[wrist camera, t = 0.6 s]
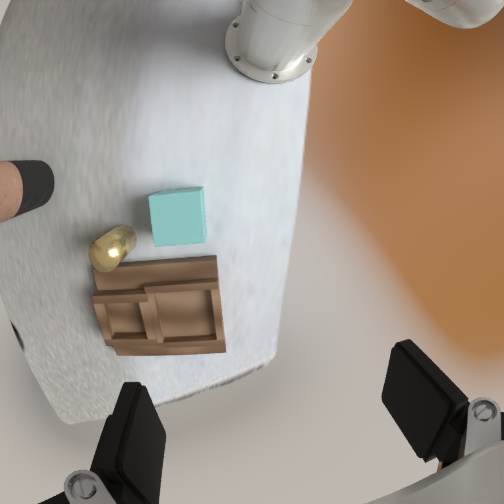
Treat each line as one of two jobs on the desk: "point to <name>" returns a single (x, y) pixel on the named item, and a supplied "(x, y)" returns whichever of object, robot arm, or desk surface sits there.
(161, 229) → the block
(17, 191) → the travel mug
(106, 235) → the peg
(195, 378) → the desk surface
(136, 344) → the organizer
